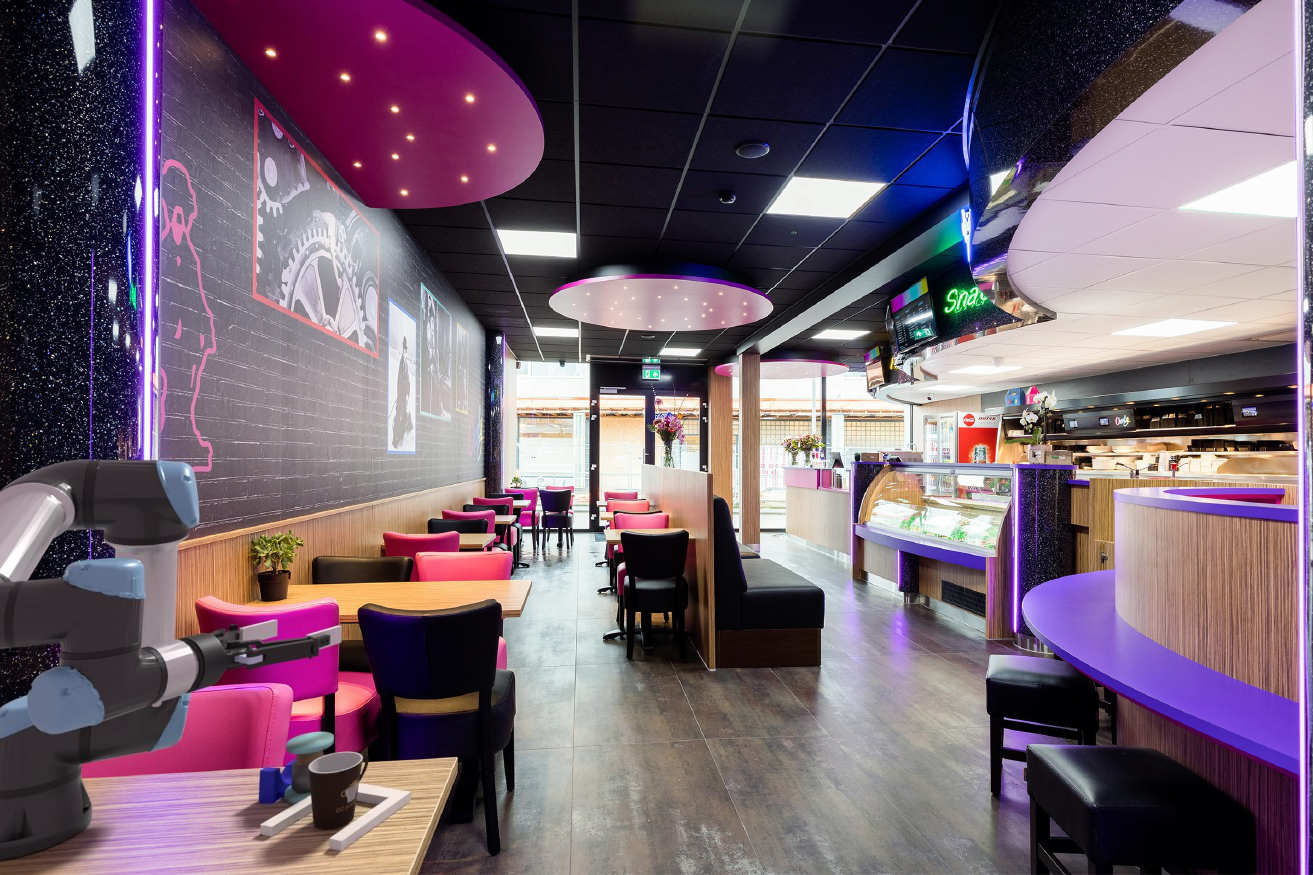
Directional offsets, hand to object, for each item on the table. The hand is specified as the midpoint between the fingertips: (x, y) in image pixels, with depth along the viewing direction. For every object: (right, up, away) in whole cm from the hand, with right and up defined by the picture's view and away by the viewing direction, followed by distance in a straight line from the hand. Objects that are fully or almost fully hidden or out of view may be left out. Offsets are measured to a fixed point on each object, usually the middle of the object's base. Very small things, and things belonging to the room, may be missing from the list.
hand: (307, 630), depth 107 cm
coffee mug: (+3, -35, +6) cm, 36 cm away
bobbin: (-8, -36, +14) cm, 39 cm away
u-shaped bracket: (+2, -35, +6) cm, 36 cm away
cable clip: (-14, -36, +17) cm, 42 cm away
